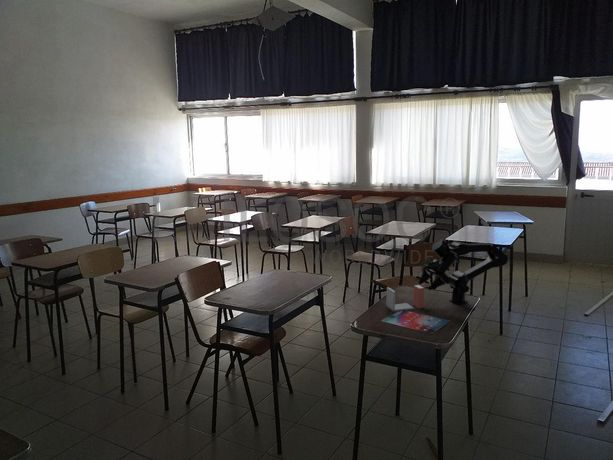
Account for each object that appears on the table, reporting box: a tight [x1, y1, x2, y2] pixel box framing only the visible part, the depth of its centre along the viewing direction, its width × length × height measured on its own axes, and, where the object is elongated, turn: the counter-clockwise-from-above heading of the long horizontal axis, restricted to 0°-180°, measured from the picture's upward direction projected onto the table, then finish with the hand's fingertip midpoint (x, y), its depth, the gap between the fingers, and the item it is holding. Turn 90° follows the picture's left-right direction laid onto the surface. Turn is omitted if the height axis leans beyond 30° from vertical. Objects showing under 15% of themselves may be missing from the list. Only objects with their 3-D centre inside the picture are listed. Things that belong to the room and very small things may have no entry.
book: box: [412, 284, 425, 309], centre depth 231 cm, size 3×5×10 cm, turn 16°
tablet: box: [380, 310, 451, 336], centre depth 213 cm, size 19×25×1 cm
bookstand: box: [385, 287, 415, 313], centre depth 229 cm, size 11×7×10 cm, turn 106°
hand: (423, 286), depth 231 cm, fingers open, 9 cm apart
